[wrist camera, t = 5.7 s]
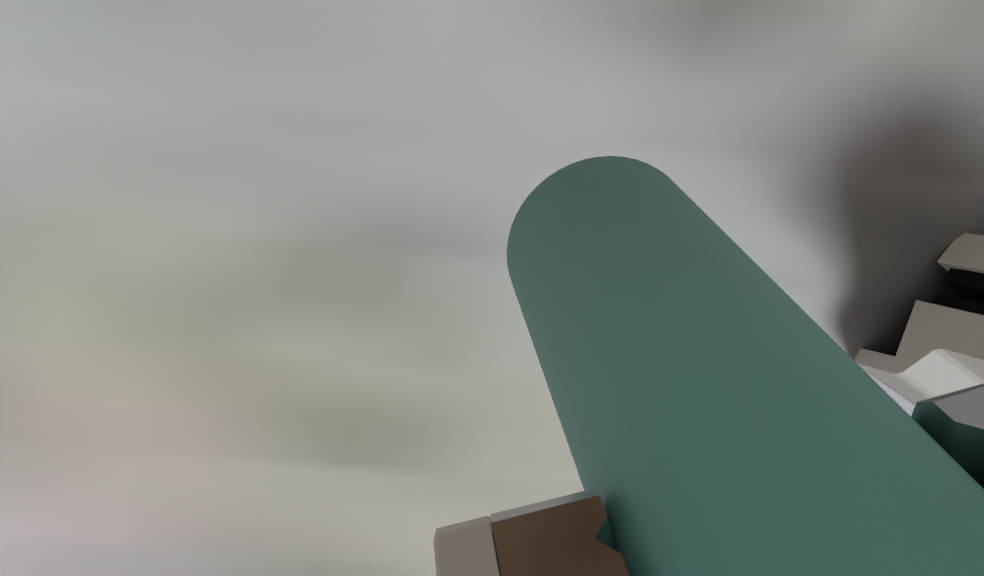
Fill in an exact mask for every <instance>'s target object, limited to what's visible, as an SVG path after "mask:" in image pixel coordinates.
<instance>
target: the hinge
mask: <svg viewBox="0 0 984 576" xmlns="http://www.w3.org/2000/svg"><path fill="white" fill-rule="evenodd" d="M937 262H938V263H939V264H940V265H941V266H942V267H944V268H945V269H946V270H947V271H948V273H947V275H946V277H945V279H944V280H945V281H946V282H947V283H948V284H950V285H951V286H952V287H954V288H955V289H956V290H957V291H959V292H960V293H961V294H962V295H964V296H965V297H966V298H967V299H969V300H970V301H969V300H964V299H960V298H955V297H950V296H946V295H941V294H936V296H935V298H934V299H933V301H932V303H927V302H923V301H918V300H916V302H915V304H914V307H913V310H912V313H911V315H910V318H909V321H908V324H907V326H906V329H905V332H904V334H903V337H902V340H901V343H900V345H899V348H898V351H897V353H896V356H891V355H887V354H883V353H879V352H875V351H871V350H867V349H863V348H861V349H860V350H859V352H858V353H857V355H856V356H855V358H854V361H855V362H856V363H857V364H858V365H859V366H860V367H861V368H862V369H864V370H865V371H866V372H868V373H869V374H871V375H872V376H874V377H875V378H877V379H878V380H879V381H881V382H882V383H884V384H885V385H887V386H888V387H890V388H891V389H892V390H894V391H895V392H897V393H898V394H900V395H901V396H903V397H904V398H906V399H907V400H908V401H910V402H911V403H913V404H914V405H916V403H917V402H918V401H922V400H925V399H929V398H933V397H936V396H940V395H943V394H947V393H951V392H954V391H958V390H962V389H965V388H969V387H972V386H976V385H980V384H983V383H984V236H983V235H976V234H969V233H964V234H962V235H961V236H960V237H958V238H957V239H956V240H955V241H953V242H952V243H951V244H950V246H949V247H948V248H947V249H946V251H945V252H944V253H943V254H942V256H941V257H940V258H939V259H938V261H937Z"/></svg>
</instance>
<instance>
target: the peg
mask: <svg viewBox="0 0 984 576" xmlns="http://www.w3.org/2000/svg"><path fill="white" fill-rule="evenodd" d="M507 265H508V270H509V275H510V278H511V281H512V284H513V287H514V290H515V293H516V296H517V299H518V301H519V304H520V307H521V310H522V313H523V316H524V319H525V322H526V324H527V327H528V330H529V333H530V336H531V339H532V342H533V344H534V347H535V350H536V353H537V356H538V359H539V362H540V364H541V367H542V370H543V373H544V376H545V379H546V382H547V385H548V387H549V390H550V393H551V396H552V399H553V402H554V405H555V407H556V410H557V413H558V416H559V419H560V422H561V425H562V427H563V430H564V433H565V436H566V439H567V442H568V445H569V448H570V450H571V453H572V456H573V459H574V462H575V465H576V468H577V470H578V473H579V476H580V479H581V482H582V485H583V488H584V490H585V491H587V490H591V489H595V488H596V489H597V491H598V493H599V495H600V498H601V501H602V503H603V506H604V508H605V511H606V514H607V517H608V521H609V525H610V530H611V534H612V538H613V542H614V547H615V551H617V552H619V553H621V554H622V557H623V559H624V562H625V565H626V568H627V571H628V573H629V576H984V489H983V488H982V487H981V486H980V485H979V484H978V483H977V482H976V481H975V480H974V479H973V478H972V477H971V476H970V475H969V474H968V473H967V472H966V471H965V470H964V469H963V468H962V467H961V466H960V465H959V464H958V463H957V462H956V461H955V460H954V459H953V458H952V457H951V456H950V455H949V454H948V453H947V452H946V451H945V450H944V449H943V448H942V447H941V446H940V445H939V444H938V443H937V442H936V441H935V440H934V439H933V438H932V437H931V436H930V435H929V434H928V433H927V432H926V431H925V430H924V429H923V428H922V427H921V426H920V425H919V424H918V423H917V422H916V421H914V420H913V419H912V418H911V417H910V416H909V415H908V414H907V413H906V412H905V411H904V410H903V409H902V408H901V407H900V406H899V405H898V404H897V403H896V402H895V401H894V400H893V399H892V398H891V397H890V396H889V395H888V394H887V393H886V392H885V391H884V390H883V389H882V388H881V387H880V386H879V385H878V384H877V383H876V382H875V381H874V380H873V379H872V378H871V377H870V376H869V375H868V374H867V373H866V372H865V371H864V370H863V369H862V368H861V367H860V366H859V365H858V364H857V363H856V362H855V361H854V360H853V359H852V358H851V357H850V356H849V355H848V354H847V353H846V352H845V351H844V350H843V349H842V348H841V347H840V346H839V345H838V344H837V343H836V342H835V341H834V340H833V339H832V338H831V337H830V336H829V335H828V334H827V333H826V332H825V331H824V330H823V329H822V328H821V327H819V326H818V325H817V324H816V323H815V322H814V321H813V320H812V319H811V318H810V317H809V316H808V315H807V314H806V313H805V312H804V311H803V310H802V309H801V308H800V307H799V306H798V305H797V304H796V303H795V302H794V301H793V300H792V299H791V298H790V297H789V296H788V295H787V294H786V293H785V292H784V291H783V290H782V289H781V288H780V287H779V286H778V285H777V284H776V283H775V282H774V281H773V280H772V279H771V278H770V277H769V276H768V275H767V274H766V273H765V272H764V271H763V270H762V269H761V268H760V267H759V266H758V265H757V264H756V263H755V262H754V261H753V260H752V259H751V258H750V257H749V256H748V255H747V254H746V253H745V252H744V251H743V250H742V249H741V248H740V247H739V246H738V245H737V244H736V243H735V242H734V241H733V240H732V239H731V238H730V237H729V236H728V235H727V234H725V233H724V232H723V231H722V230H721V229H720V228H719V227H718V226H717V225H716V224H715V223H714V222H713V221H712V220H711V219H710V218H709V217H708V216H707V215H706V214H705V213H704V212H703V211H702V210H701V209H700V208H699V207H698V206H697V205H696V204H695V203H694V202H693V201H692V200H691V199H690V198H689V197H688V196H687V195H686V194H685V193H684V192H683V191H682V190H681V189H680V188H679V187H678V186H677V185H676V184H675V183H674V182H673V181H672V180H671V179H670V178H669V177H668V176H667V175H665V174H664V173H662V172H661V171H660V170H658V169H657V168H655V167H653V166H651V165H649V164H647V163H644V162H641V161H638V160H636V159H631V158H626V157H616V156H605V157H595V158H590V159H585V160H582V161H579V162H576V163H573V164H570V165H568V166H566V167H564V168H562V169H560V170H558V171H557V172H555V173H554V174H552V175H550V176H549V177H548V178H546V179H545V180H544V181H543V182H541V183H540V184H539V185H538V186H537V187H536V188H535V189H534V190H533V191H532V192H531V193H530V194H529V196H528V197H527V199H526V200H525V201H524V203H523V204H522V205H521V207H520V209H519V211H518V213H517V214H516V216H515V219H514V221H513V224H512V226H511V230H510V234H509V238H508V245H507Z"/></svg>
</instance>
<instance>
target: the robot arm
mask: <svg viewBox="0 0 984 576" xmlns="http://www.w3.org/2000/svg"><path fill="white" fill-rule="evenodd" d="M911 418H912V419H913V420H914V421H916V422H917V423H918V424H919V425H920V426H921V427H922V428H923V429H924V430H925V431H926V432H927V433H928V434H929V435H930V436H931V437H932V438H933V439H934V440H935V441H936V442H937V443H938V444H939V445H940V446H941V447H942V448H943V449H944V450H945V451H946V452H947V453H948V454H949V455H950V456H951V457H952V458H953V459H954V460H955V461H956V462H957V463H958V464H959V465H960V466H961V467H962V468H963V469H964V470H965V471H966V472H967V473H968V474H969V475H970V476H971V477H972V478H973V479H974V480H975V481H976V482H977V483H978V484H979V485H980V486H981V487H982V488H983V489H984V383H983V384H980V385H976V386H972V387H969V388H965V389H962V390H958V391H954V392H951V393H947V394H943V395H940V396H936V397H933V398H929V399H925V400H922V401H918V402H917V403H916V406H915V408H914V411H913V413H912V416H911ZM434 552H435V563H436V574H437V576H629V573H628V571H627V568H626V565H625V562H624V559H623V557H622V554H621V553H619V552H617V551H615V547H614V542H613V538H612V534H611V530H610V525H609V521H608V517H607V514H606V511H605V508H604V506H603V503H602V501H601V498H600V495H599V493H598V491H597V489H596V488H595V489H591V490H587V491H583V492H579V493H575V494H571V495H567V496H563V497H559V498H555V499H550V500H546V501H542V502H538V503H534V504H530V505H526V506H522V507H518V508H514V509H510V510H506V511H502V512H498V513H494V514H491V518H490V517H489V516H485V517H481V518H477V519H473V520H469V521H465V522H461V523H457V524H453V525H449V526H445V527H441V528H437V529H436V532H435V537H434Z"/></svg>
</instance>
